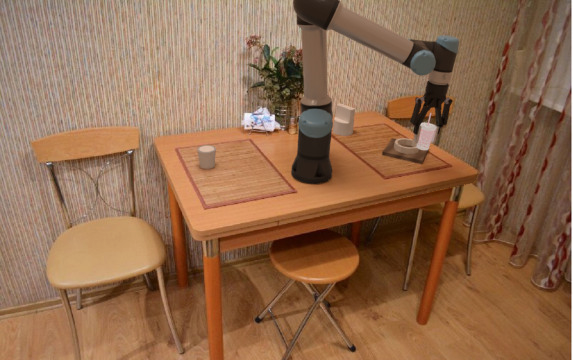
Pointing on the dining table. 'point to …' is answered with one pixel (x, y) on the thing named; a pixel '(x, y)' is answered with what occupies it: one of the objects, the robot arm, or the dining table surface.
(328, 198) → the dining table surface
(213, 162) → the gray tapered cup
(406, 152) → the ring
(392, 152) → the holder
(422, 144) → the beverage cup
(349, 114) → the cylinder with rectangular tab
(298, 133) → the robot arm
